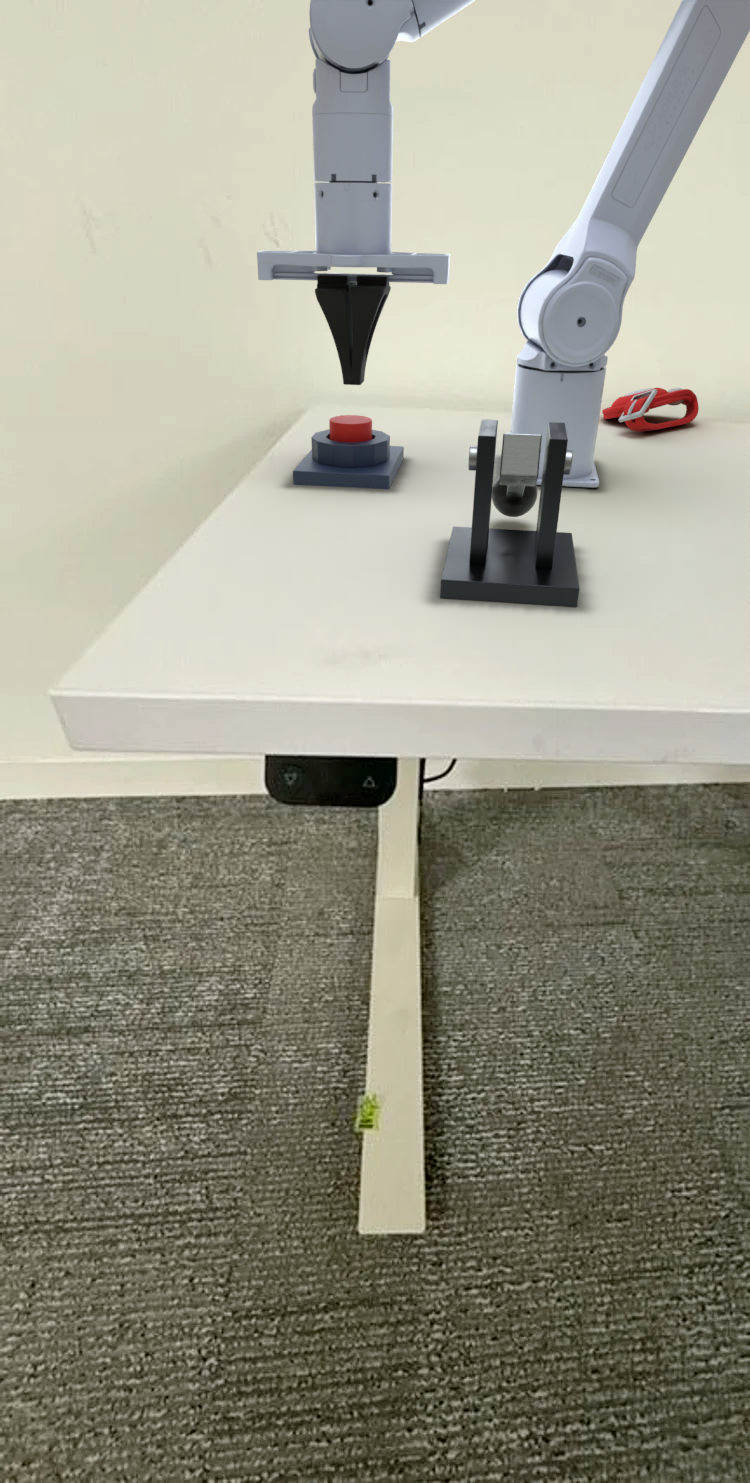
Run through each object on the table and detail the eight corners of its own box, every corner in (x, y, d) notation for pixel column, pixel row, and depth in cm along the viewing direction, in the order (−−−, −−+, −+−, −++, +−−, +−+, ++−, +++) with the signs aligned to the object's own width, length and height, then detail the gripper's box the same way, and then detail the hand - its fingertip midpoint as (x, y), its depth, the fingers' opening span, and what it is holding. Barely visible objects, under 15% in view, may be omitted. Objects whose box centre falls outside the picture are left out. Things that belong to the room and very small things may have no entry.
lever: (489, 519, 63) (493, 474, 63) (533, 521, 63) (537, 476, 62) (490, 481, 50) (495, 425, 50) (546, 484, 50) (551, 427, 50)
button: (334, 435, 75) (333, 414, 75) (374, 437, 75) (374, 415, 74) (326, 444, 72) (325, 423, 72) (368, 446, 72) (368, 424, 71)
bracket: (452, 543, 60) (459, 409, 55) (569, 549, 59) (587, 414, 54) (439, 598, 51) (447, 446, 47) (577, 607, 50) (598, 452, 46)
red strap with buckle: (587, 402, 96) (675, 379, 96) (594, 443, 98) (680, 420, 97) (622, 396, 85) (722, 369, 84) (629, 443, 86) (727, 416, 86)
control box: (317, 455, 80) (316, 421, 78) (403, 459, 79) (404, 425, 77) (293, 485, 71) (291, 448, 70) (388, 490, 70) (389, 452, 69)
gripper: (241, 181, 60) (254, 388, 68) (448, 183, 59) (439, 395, 66) (266, 183, 66) (275, 373, 74) (455, 185, 65) (445, 379, 72)
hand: (353, 382), depth 70 cm, fingers closed
